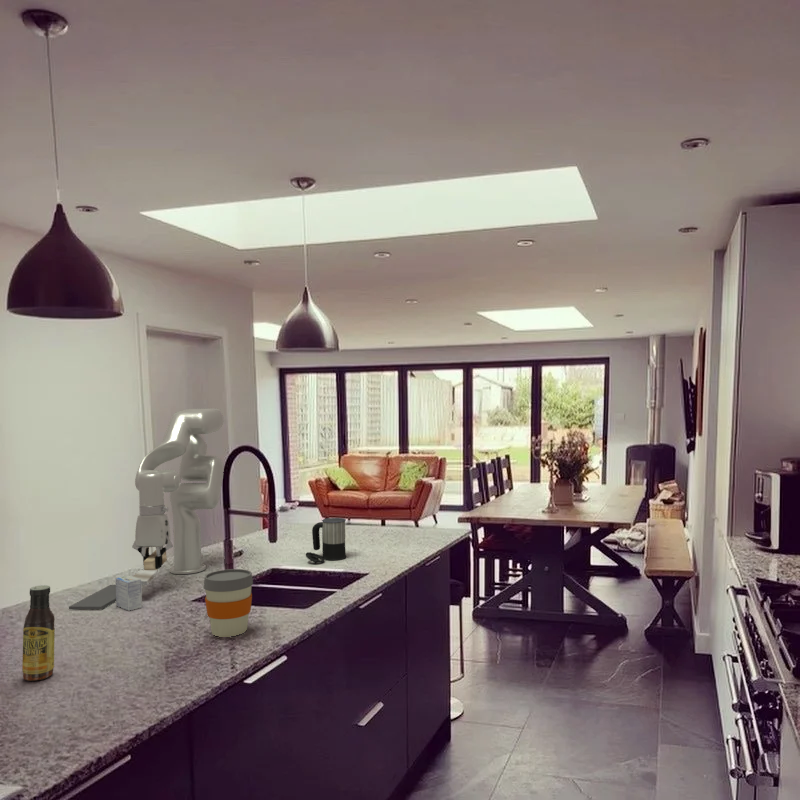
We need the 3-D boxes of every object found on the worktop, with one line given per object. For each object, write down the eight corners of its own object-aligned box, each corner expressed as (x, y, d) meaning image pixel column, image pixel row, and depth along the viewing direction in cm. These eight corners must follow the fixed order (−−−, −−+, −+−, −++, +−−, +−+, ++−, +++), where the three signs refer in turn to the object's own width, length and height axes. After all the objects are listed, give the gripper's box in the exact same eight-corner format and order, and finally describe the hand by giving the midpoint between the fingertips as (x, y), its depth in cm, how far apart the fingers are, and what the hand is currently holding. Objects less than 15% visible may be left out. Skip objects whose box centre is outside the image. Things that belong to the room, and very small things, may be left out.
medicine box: (142, 608, 200) (142, 578, 200) (128, 611, 197) (127, 581, 197) (130, 603, 205) (129, 574, 205) (115, 606, 202) (115, 577, 202)
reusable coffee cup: (212, 624, 183) (210, 569, 183) (258, 623, 183) (257, 568, 183) (198, 640, 171) (197, 581, 171) (248, 639, 171) (247, 580, 171)
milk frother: (348, 555, 263) (347, 517, 264) (340, 565, 248) (339, 524, 248) (313, 555, 265) (312, 517, 265) (303, 565, 249) (302, 524, 249)
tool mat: (110, 587, 223) (110, 584, 223) (139, 587, 223) (139, 584, 223) (68, 610, 199) (68, 606, 199) (101, 610, 199) (101, 606, 199)
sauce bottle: (16, 683, 146) (15, 591, 147) (31, 671, 153) (29, 584, 153) (47, 681, 147) (45, 590, 147) (60, 670, 153) (59, 583, 153)
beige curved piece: (153, 560, 225) (152, 548, 224) (171, 560, 224) (170, 548, 223) (128, 584, 207) (126, 572, 206) (147, 584, 206) (145, 572, 206)
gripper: (181, 509, 220) (182, 565, 220) (133, 509, 222) (134, 565, 222) (171, 512, 213) (172, 570, 213) (121, 513, 214) (122, 571, 214)
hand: (152, 567), depth 217 cm, fingers closed on beige curved piece, 3 cm apart
